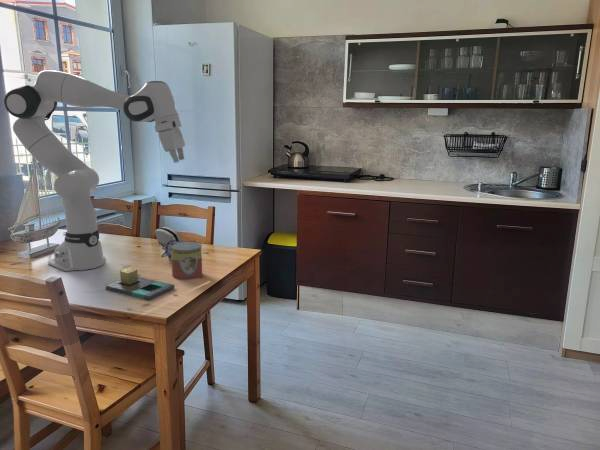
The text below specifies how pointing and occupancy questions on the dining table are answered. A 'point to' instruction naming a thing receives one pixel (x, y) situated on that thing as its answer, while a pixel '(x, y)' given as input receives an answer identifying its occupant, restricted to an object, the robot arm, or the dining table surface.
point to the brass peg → (129, 277)
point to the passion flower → (169, 248)
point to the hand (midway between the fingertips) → (179, 161)
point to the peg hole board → (142, 288)
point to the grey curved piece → (166, 235)
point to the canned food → (186, 260)
